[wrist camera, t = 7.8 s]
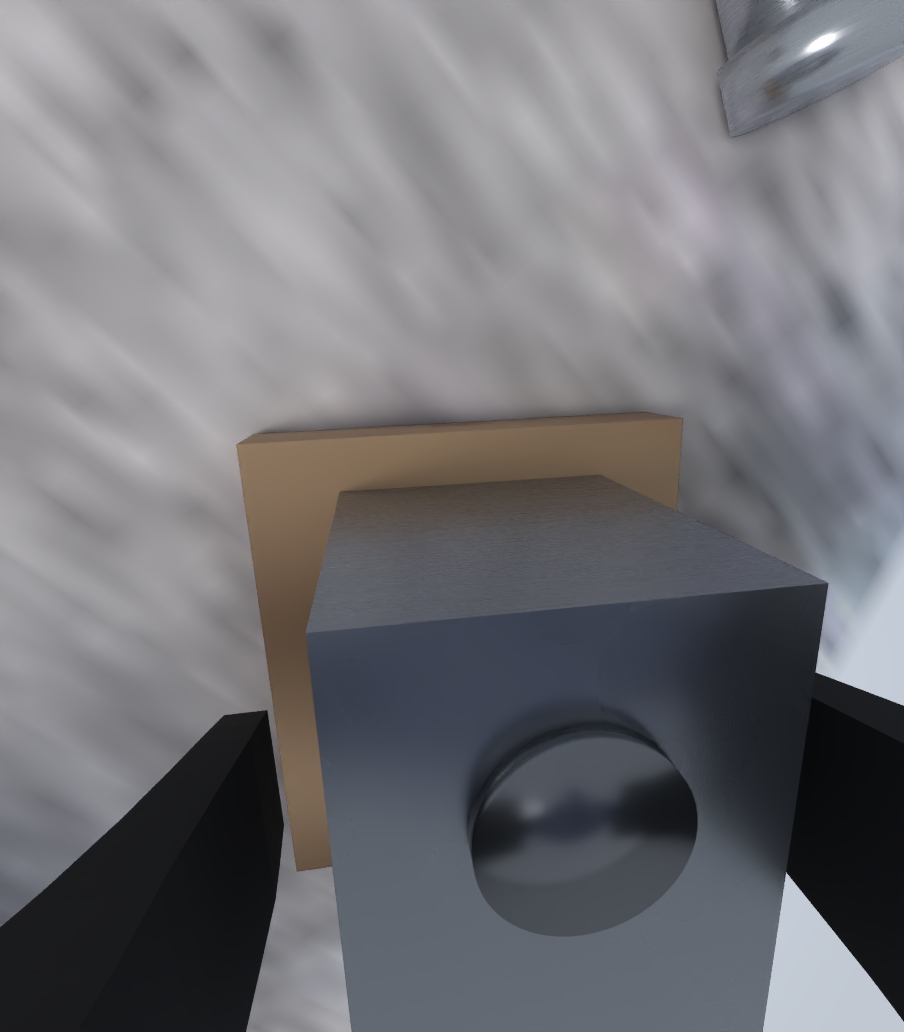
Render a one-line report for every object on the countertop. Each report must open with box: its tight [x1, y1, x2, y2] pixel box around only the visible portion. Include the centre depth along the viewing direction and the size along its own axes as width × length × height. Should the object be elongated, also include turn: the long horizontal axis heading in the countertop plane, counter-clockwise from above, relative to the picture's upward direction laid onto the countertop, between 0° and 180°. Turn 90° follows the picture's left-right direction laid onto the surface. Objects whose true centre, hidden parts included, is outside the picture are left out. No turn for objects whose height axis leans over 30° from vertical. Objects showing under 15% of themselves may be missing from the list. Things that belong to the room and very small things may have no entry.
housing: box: [306, 475, 828, 1032], centre depth 8 cm, size 7×5×6 cm
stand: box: [236, 412, 683, 872], centre depth 12 cm, size 9×8×2 cm
